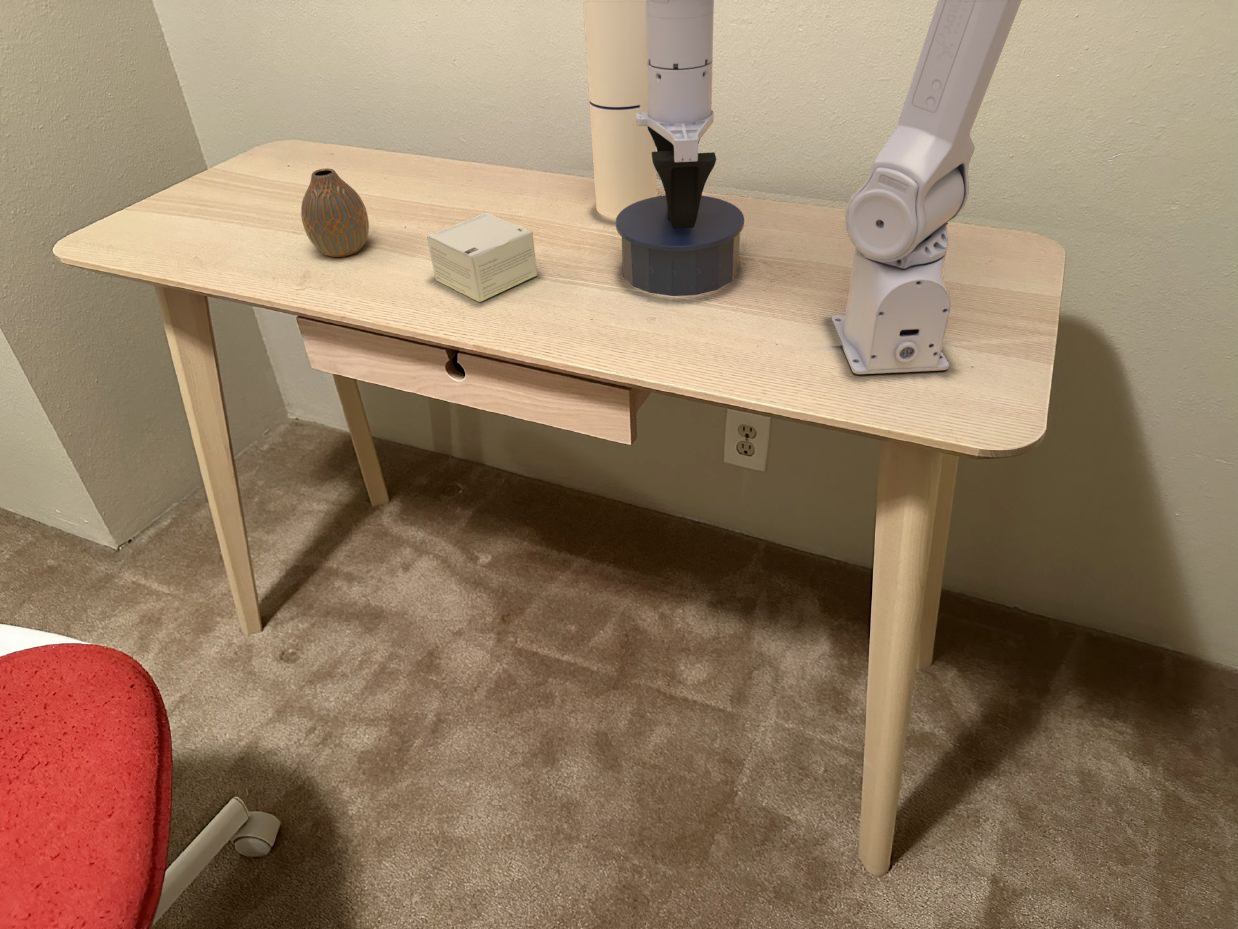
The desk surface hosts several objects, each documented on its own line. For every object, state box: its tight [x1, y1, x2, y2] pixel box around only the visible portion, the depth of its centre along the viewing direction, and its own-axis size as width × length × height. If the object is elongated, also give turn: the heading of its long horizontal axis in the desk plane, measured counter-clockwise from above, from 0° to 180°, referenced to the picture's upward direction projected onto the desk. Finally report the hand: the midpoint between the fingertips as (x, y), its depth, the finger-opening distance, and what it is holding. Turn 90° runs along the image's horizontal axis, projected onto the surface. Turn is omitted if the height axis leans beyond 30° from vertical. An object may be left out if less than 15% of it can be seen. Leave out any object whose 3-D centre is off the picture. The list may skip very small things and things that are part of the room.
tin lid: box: [615, 194, 745, 251], centre depth 83 cm, size 13×13×5 cm
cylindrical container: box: [582, 0, 658, 219], centre depth 93 cm, size 7×7×25 cm
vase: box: [300, 167, 370, 258], centre depth 93 cm, size 7×7×9 cm
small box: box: [426, 211, 538, 303], centre depth 87 cm, size 8×8×5 cm
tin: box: [621, 232, 741, 297], centre depth 86 cm, size 12×12×5 cm
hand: (679, 210), depth 84 cm, fingers open, 7 cm apart
